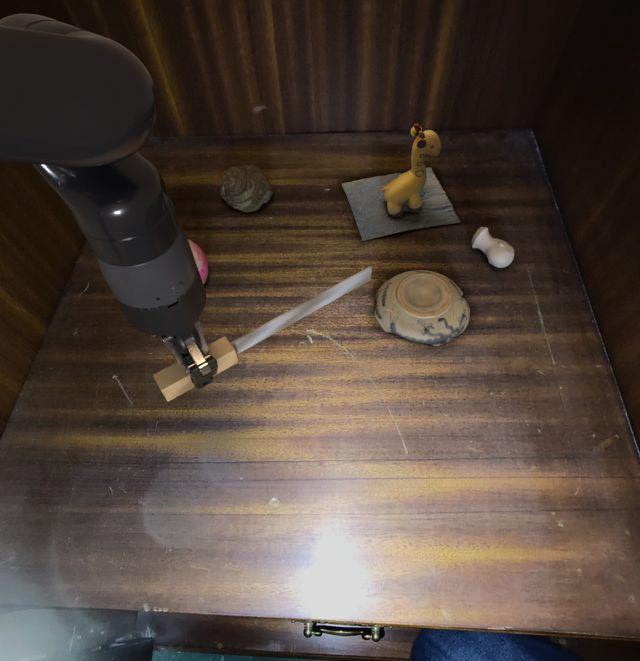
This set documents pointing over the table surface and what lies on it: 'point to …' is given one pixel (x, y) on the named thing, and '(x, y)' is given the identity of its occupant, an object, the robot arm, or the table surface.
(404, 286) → the decorative bowl
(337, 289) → the knife
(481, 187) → the table surface
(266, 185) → the seashell
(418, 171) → the stuffed giraffe
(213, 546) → the table surface
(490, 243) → the smooth white sculpture
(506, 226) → the table surface
